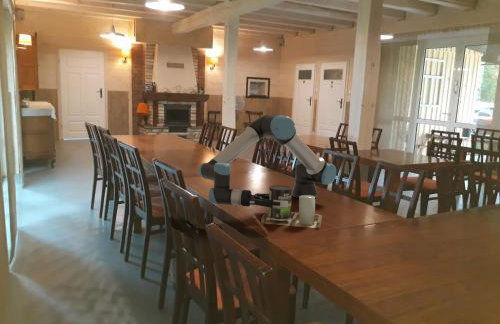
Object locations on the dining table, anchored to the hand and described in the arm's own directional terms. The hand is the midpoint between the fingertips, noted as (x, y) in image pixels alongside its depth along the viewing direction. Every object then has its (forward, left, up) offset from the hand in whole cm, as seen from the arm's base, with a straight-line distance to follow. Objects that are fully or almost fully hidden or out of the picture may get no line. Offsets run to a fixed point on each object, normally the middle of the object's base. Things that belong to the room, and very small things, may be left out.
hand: (289, 201), depth 178 cm
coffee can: (+4, -2, -8) cm, 9 cm away
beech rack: (-1, 0, -11) cm, 11 cm away
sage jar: (-7, +4, -9) cm, 12 cm away
